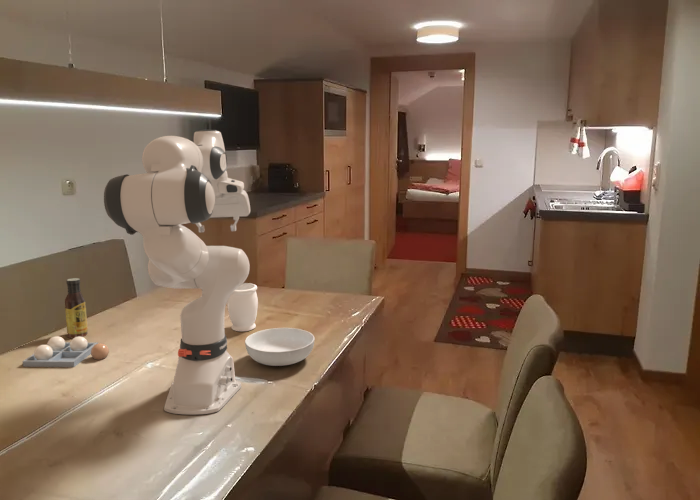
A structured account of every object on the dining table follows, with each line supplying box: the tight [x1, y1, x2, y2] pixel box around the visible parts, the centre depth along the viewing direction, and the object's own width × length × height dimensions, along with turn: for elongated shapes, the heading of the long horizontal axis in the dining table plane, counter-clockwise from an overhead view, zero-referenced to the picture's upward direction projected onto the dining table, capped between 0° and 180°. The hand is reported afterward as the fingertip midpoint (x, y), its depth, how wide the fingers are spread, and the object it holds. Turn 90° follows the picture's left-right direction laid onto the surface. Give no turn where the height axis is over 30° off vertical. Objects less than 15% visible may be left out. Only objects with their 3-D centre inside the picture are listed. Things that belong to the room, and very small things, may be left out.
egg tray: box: [22, 341, 99, 368], centre depth 173 cm, size 15×15×2 cm
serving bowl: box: [244, 327, 316, 367], centre depth 172 cm, size 21×21×7 cm
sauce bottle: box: [64, 277, 89, 339], centre depth 190 cm, size 7×6×20 cm
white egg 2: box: [46, 335, 66, 351], centre depth 177 cm, size 5×5×5 cm
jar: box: [226, 282, 259, 332], centre depth 198 cm, size 11×10×15 cm
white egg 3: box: [70, 336, 88, 351], centre depth 176 cm, size 5×5×5 cm
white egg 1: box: [33, 344, 53, 360], centre depth 170 cm, size 5×5×5 cm
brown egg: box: [90, 342, 110, 361], centre depth 172 cm, size 5×5×5 cm
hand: (217, 231), depth 170 cm, fingers open, 8 cm apart
